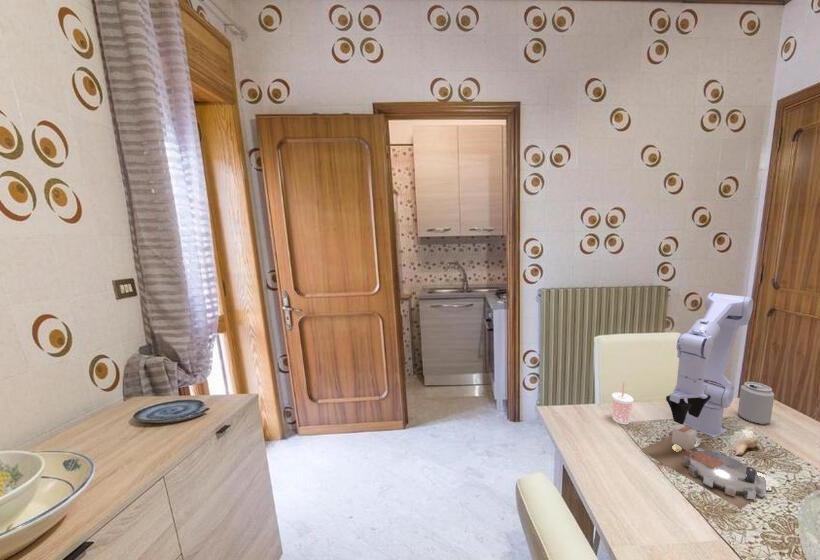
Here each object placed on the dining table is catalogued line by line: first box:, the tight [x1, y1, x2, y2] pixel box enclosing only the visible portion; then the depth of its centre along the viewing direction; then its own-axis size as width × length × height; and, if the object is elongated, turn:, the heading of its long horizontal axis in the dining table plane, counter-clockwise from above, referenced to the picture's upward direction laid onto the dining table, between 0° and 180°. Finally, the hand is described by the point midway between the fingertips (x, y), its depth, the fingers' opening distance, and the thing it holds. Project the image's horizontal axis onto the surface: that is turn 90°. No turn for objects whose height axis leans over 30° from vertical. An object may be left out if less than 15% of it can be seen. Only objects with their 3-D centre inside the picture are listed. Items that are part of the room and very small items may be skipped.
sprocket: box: [683, 448, 767, 500], centre depth 82 cm, size 15×15×5 cm
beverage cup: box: [611, 382, 634, 425], centre depth 107 cm, size 6×6×14 cm
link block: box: [671, 424, 698, 451], centre depth 94 cm, size 4×4×5 cm
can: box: [737, 381, 775, 425], centre depth 106 cm, size 8×8×12 cm
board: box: [640, 435, 768, 510], centre depth 87 cm, size 22×19×1 cm
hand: (686, 419), depth 93 cm, fingers open, 7 cm apart
